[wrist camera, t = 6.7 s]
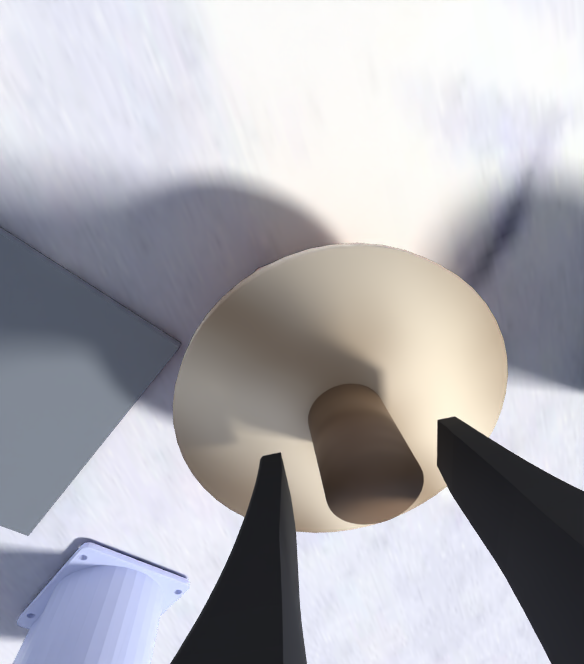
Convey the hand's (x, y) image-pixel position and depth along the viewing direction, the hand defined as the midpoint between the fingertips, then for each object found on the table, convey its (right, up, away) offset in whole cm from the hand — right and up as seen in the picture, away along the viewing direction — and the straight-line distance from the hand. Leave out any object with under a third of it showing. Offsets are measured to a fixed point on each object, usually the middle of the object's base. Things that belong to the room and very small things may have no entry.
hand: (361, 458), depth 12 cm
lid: (0, +1, +3) cm, 3 cm away
